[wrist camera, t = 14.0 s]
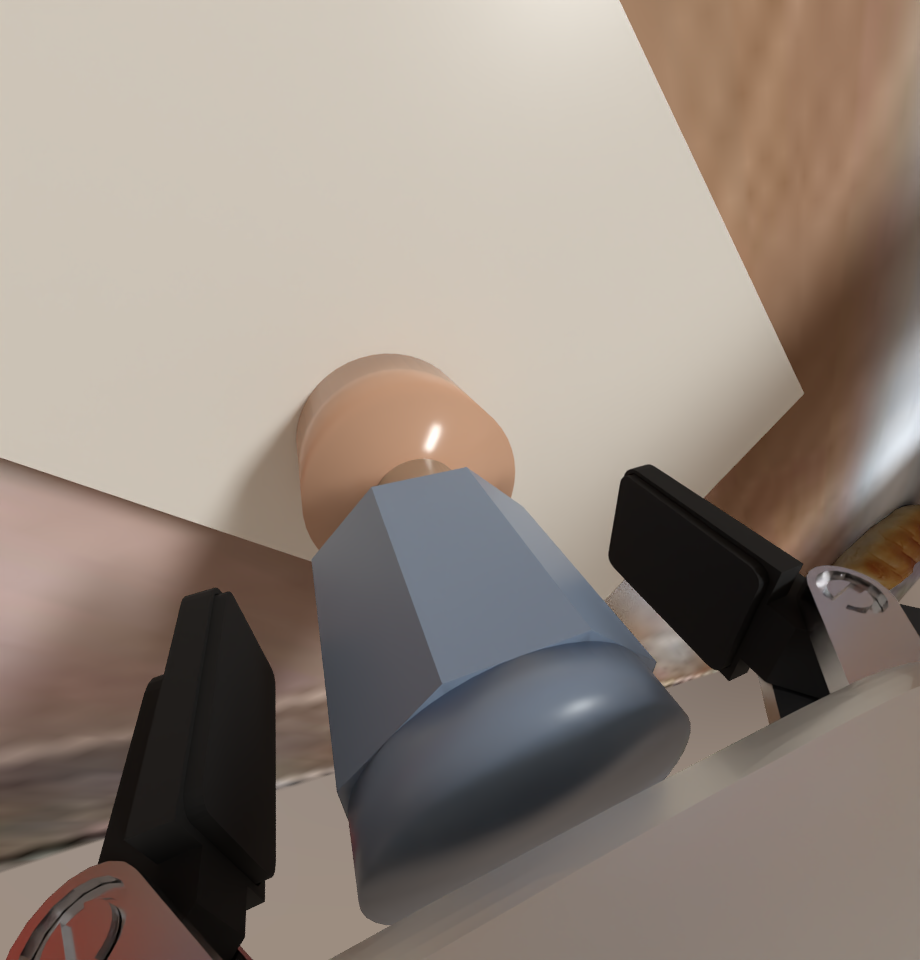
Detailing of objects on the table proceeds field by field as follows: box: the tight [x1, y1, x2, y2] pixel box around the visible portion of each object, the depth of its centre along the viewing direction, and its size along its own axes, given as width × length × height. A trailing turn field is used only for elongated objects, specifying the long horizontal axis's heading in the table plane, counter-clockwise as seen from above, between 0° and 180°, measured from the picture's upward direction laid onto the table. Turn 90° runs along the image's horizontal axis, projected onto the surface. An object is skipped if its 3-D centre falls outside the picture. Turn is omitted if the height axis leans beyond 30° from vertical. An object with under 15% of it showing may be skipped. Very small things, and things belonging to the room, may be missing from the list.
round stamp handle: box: [296, 354, 515, 550], centre depth 11 cm, size 6×6×11 cm
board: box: [0, 0, 804, 600], centre depth 17 cm, size 30×20×1 cm, turn 49°
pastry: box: [832, 505, 920, 590], centre depth 38 cm, size 9×7×4 cm
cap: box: [312, 467, 690, 925], centre depth 9 cm, size 6×6×6 cm
